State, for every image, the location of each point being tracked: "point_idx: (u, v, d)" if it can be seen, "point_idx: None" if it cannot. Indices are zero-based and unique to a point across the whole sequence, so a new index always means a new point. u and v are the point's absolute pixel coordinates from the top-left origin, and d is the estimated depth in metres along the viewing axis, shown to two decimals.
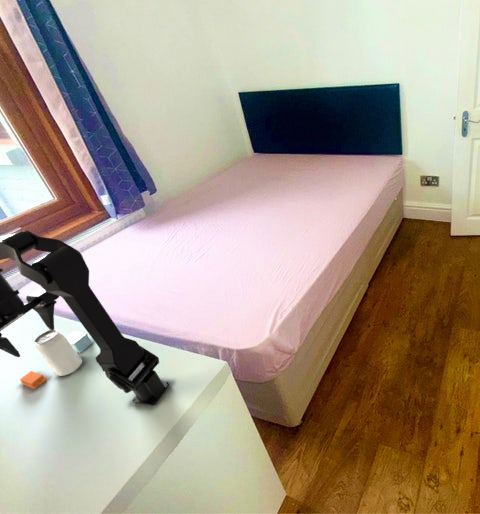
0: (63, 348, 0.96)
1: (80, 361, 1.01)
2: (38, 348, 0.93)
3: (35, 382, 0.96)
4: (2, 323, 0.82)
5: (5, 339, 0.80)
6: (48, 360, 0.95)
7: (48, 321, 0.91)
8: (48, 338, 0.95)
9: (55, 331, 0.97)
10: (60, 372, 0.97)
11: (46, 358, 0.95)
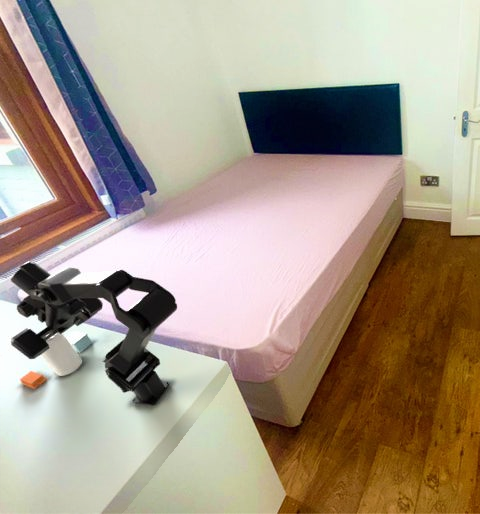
0: (63, 348, 0.96)
1: (80, 361, 1.01)
2: None
3: (35, 382, 0.96)
4: (50, 330, 0.83)
5: None
6: (48, 360, 0.95)
7: (79, 321, 0.93)
8: None
9: None
10: (60, 372, 0.97)
11: (46, 358, 0.95)
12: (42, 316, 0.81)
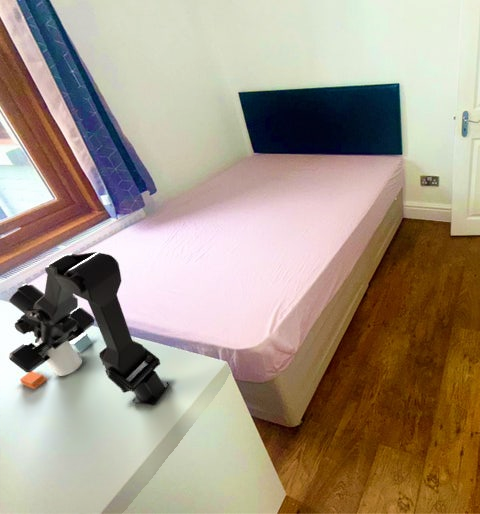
0: (63, 348, 0.96)
1: (80, 361, 1.01)
2: None
3: (35, 382, 0.96)
4: (45, 345, 0.90)
5: (48, 358, 0.91)
6: (48, 360, 0.95)
7: (68, 339, 0.99)
8: None
9: None
10: (60, 372, 0.97)
11: None
12: (38, 333, 0.88)
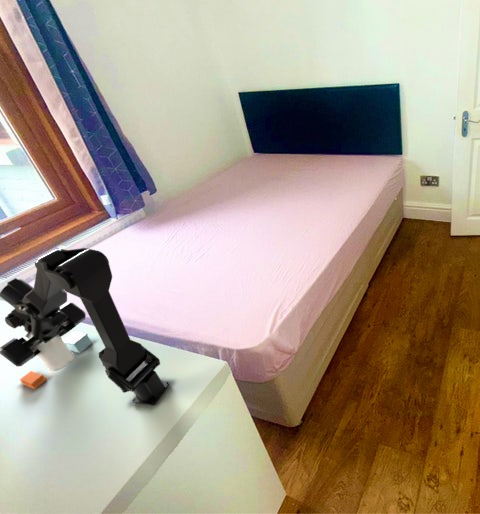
0: (54, 343, 0.97)
1: (72, 356, 1.01)
2: None
3: (35, 382, 0.96)
4: (35, 340, 0.91)
5: None
6: (39, 355, 0.96)
7: (59, 334, 0.99)
8: None
9: None
10: (52, 367, 0.98)
11: None
12: (28, 327, 0.89)
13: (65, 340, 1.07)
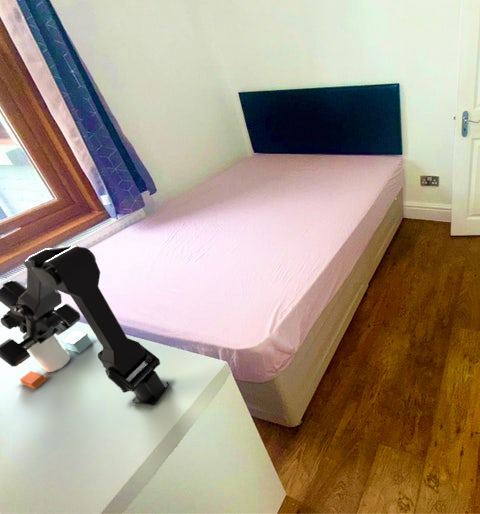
0: (51, 345, 0.99)
1: (68, 357, 1.03)
2: None
3: (35, 382, 0.96)
4: (30, 340, 0.92)
5: None
6: (36, 356, 0.98)
7: (59, 331, 1.02)
8: None
9: None
10: (48, 368, 1.00)
11: (34, 354, 0.97)
12: (23, 328, 0.91)
13: (65, 340, 1.07)
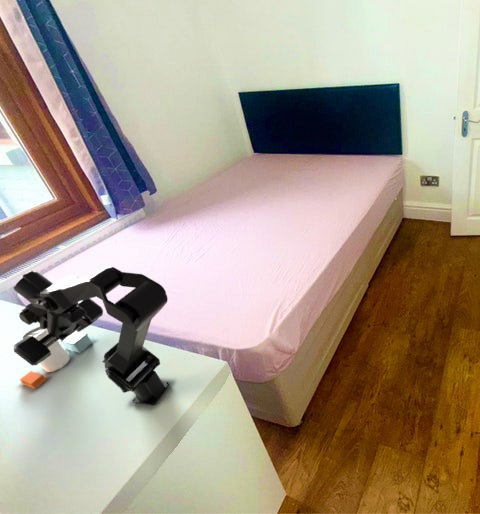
0: (51, 345, 0.99)
1: (68, 357, 1.03)
2: None
3: (35, 382, 0.96)
4: (51, 337, 0.85)
5: (49, 355, 0.85)
6: None
7: (80, 328, 0.95)
8: (36, 335, 0.97)
9: None
10: (48, 368, 1.00)
11: None
12: (44, 323, 0.83)
13: (65, 340, 1.07)
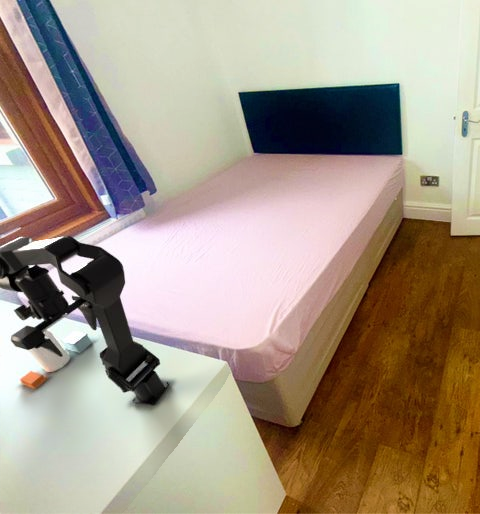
0: None
1: (68, 357, 1.03)
2: None
3: (35, 382, 0.96)
4: (47, 323, 0.81)
5: (48, 340, 0.79)
6: (36, 356, 0.98)
7: (91, 321, 0.90)
8: None
9: None
10: (48, 368, 1.00)
11: (34, 354, 0.97)
12: (34, 310, 0.81)
13: (65, 340, 1.07)
